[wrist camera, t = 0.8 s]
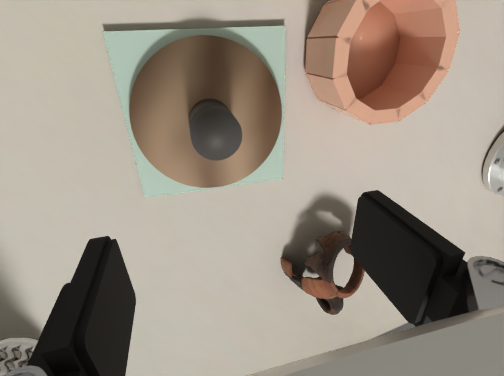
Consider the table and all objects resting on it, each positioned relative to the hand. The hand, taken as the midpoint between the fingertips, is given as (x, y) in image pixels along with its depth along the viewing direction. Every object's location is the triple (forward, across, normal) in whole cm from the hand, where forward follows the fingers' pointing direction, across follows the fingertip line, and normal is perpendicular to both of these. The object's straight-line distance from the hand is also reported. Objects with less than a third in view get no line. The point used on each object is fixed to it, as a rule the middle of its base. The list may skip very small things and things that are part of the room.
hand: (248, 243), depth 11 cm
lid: (+18, -1, 0) cm, 19 cm away
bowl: (+19, -16, -5) cm, 25 cm away
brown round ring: (+19, -13, +21) cm, 31 cm away
